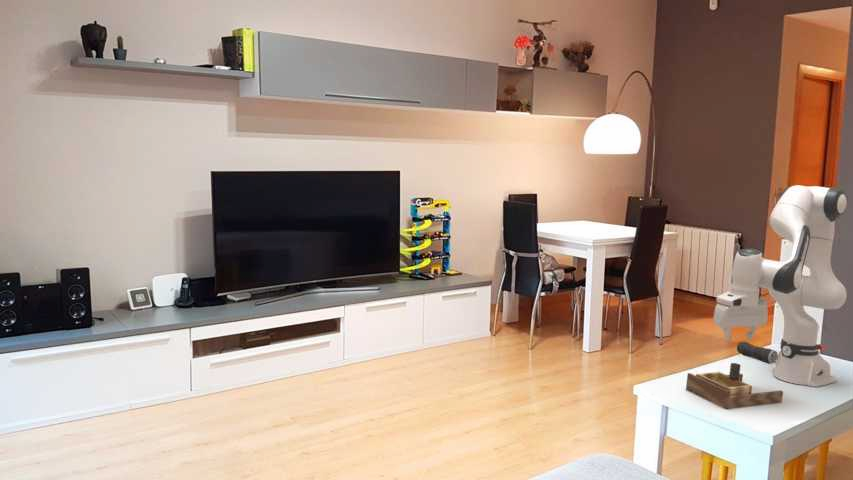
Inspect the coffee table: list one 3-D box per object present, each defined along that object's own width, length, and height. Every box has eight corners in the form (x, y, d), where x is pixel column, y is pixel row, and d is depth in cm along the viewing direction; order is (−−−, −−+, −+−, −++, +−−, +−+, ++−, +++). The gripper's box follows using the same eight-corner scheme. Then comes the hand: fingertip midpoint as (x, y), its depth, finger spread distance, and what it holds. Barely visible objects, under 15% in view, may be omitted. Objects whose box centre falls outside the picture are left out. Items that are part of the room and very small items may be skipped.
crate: (719, 388, 244) (722, 357, 242) (752, 403, 230) (756, 371, 229) (694, 390, 240) (697, 359, 238) (726, 406, 226) (730, 373, 225)
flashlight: (734, 353, 292) (736, 340, 291) (743, 352, 295) (744, 339, 294) (768, 364, 279) (770, 351, 278) (777, 362, 281) (778, 349, 281)
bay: (739, 387, 250) (741, 368, 249) (781, 405, 233) (783, 385, 232) (685, 392, 241) (687, 373, 240) (725, 412, 224) (727, 391, 223)
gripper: (759, 295, 238) (754, 335, 240) (712, 297, 231) (707, 337, 233) (774, 299, 233) (769, 340, 235) (727, 301, 225) (722, 343, 227)
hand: (738, 339), depth 234 cm, fingers open, 8 cm apart
